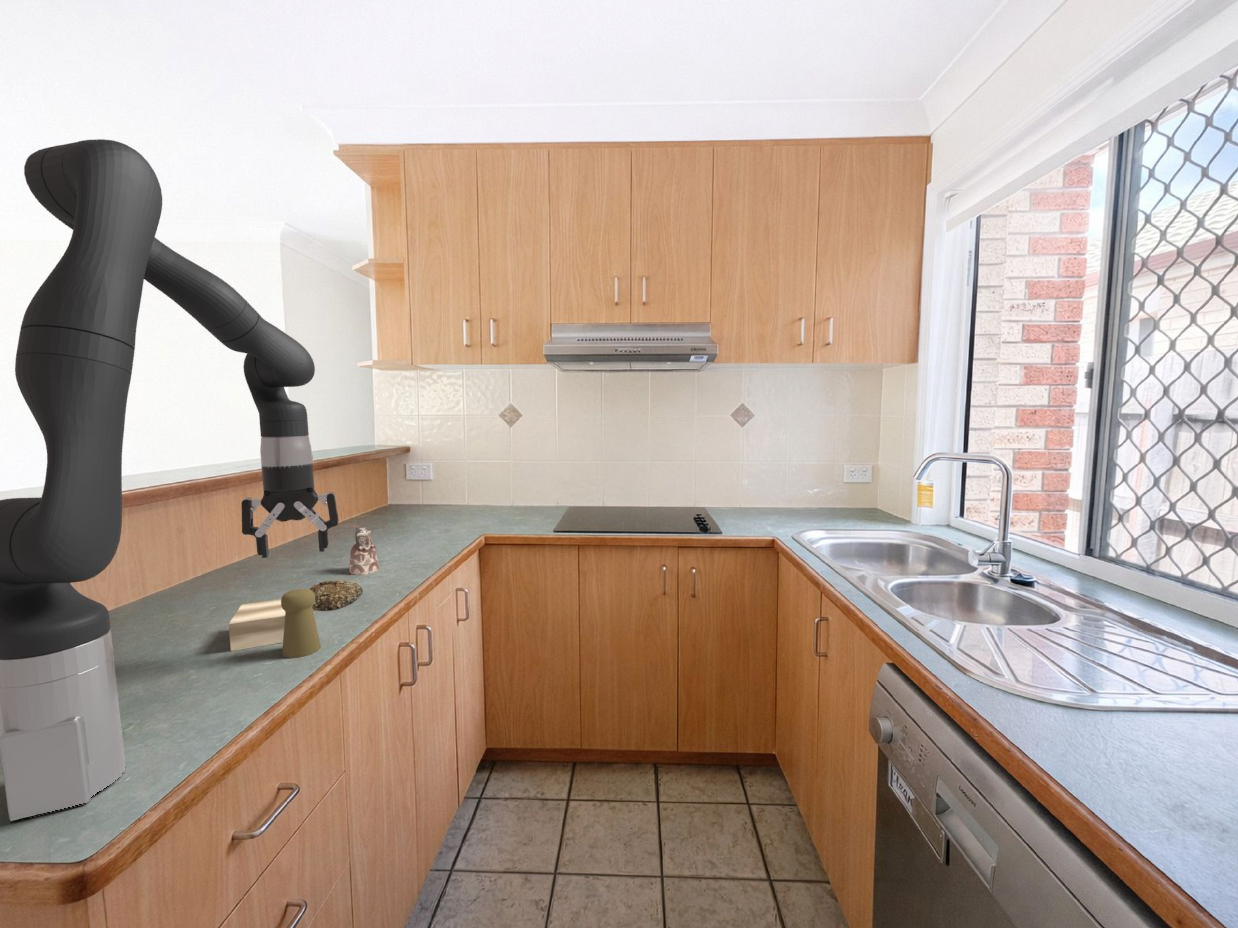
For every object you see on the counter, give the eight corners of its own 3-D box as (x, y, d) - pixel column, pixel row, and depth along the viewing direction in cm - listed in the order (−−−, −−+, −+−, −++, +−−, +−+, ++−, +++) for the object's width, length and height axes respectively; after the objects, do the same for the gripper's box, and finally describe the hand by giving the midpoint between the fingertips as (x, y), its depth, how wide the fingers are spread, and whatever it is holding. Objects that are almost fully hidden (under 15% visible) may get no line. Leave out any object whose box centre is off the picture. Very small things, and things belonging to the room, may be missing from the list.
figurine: (353, 576, 138) (350, 531, 137) (346, 570, 143) (343, 527, 142) (382, 571, 143) (379, 527, 142) (374, 565, 148) (371, 523, 147)
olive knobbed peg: (303, 659, 91) (298, 597, 90) (273, 656, 92) (268, 595, 91) (328, 644, 97) (324, 586, 96) (300, 641, 98) (296, 584, 97)
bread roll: (370, 592, 126) (369, 572, 126) (342, 612, 114) (341, 589, 113) (317, 593, 126) (315, 573, 126) (284, 612, 114) (282, 590, 114)
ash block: (302, 639, 99) (300, 613, 99) (230, 651, 95) (228, 624, 94) (307, 618, 109) (306, 595, 109) (243, 628, 105) (241, 604, 104)
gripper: (232, 466, 85) (241, 565, 87) (332, 462, 91) (339, 553, 93) (242, 462, 92) (250, 554, 93) (335, 458, 98) (341, 544, 100)
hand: (294, 553), depth 93 cm, fingers open, 8 cm apart
